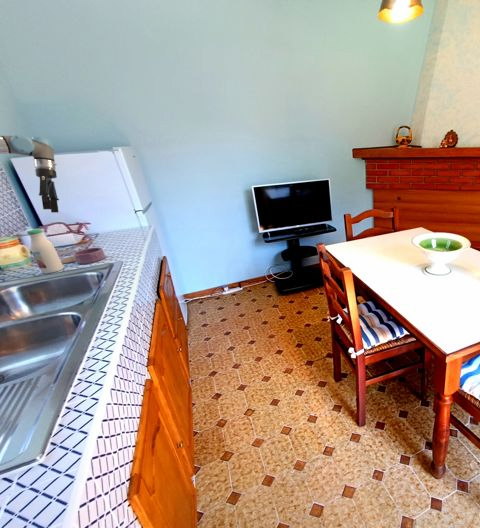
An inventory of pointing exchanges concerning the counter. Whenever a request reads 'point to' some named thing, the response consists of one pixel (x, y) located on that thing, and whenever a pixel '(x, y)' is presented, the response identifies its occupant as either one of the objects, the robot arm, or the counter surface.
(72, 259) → the coaster
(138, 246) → the counter surface
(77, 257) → the bowl
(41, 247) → the milk bottle
